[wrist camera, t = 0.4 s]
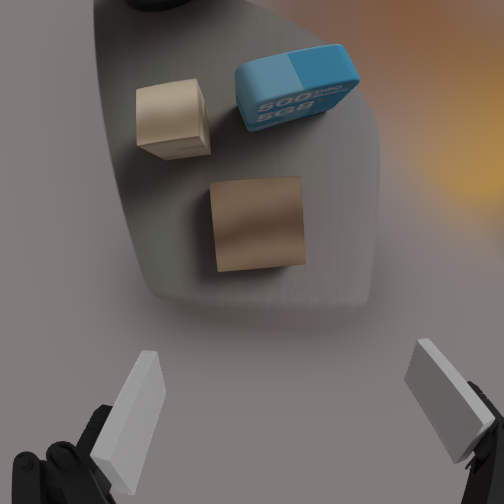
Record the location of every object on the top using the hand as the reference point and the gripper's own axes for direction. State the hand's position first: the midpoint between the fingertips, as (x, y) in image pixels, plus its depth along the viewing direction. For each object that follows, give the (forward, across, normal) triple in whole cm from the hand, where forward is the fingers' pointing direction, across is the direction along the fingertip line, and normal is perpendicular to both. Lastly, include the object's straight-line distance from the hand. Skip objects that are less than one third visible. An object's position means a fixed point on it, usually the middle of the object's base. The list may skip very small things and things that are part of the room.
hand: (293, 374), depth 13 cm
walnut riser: (+26, -1, +3) cm, 26 cm away
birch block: (+27, -10, +14) cm, 32 cm away
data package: (+28, +3, +18) cm, 33 cm away
